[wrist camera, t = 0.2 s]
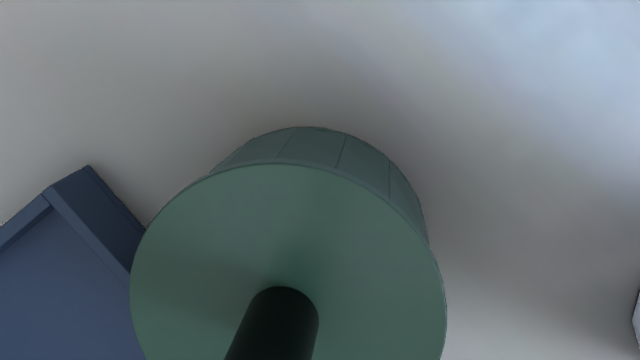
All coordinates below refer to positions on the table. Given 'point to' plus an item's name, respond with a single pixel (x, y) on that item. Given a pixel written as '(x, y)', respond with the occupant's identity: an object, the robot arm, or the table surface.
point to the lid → (285, 271)
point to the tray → (69, 275)
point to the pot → (335, 161)
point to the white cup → (637, 320)
